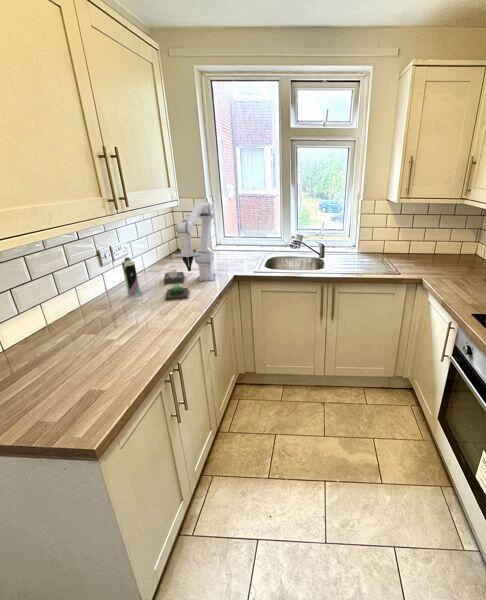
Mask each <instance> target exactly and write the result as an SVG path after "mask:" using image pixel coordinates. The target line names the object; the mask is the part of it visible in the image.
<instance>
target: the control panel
mask: <svg viewBox="0 0 486 600" xmlns="http://www.w3.org/2000/svg"><path fill="white" fill-rule="evenodd" d="M177 276H178V277H176V278H170V277H169V272H165V274H164V277H163V284H164V285H171V284H173V285H174V284H181V283H182V284H183V283H184V279H185V272H184V271H177Z"/></svg>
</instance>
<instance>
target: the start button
mask: <svg viewBox="0 0 486 600" xmlns="http://www.w3.org/2000/svg"><path fill="white" fill-rule="evenodd" d="M180 287H181V285H173V286H172V287H171V288H173V291H177V290H180Z"/></svg>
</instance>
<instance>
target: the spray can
mask: <svg viewBox="0 0 486 600" xmlns="http://www.w3.org/2000/svg"><path fill="white" fill-rule="evenodd" d="M121 266H122V270H123V276H124V280H125V285H126V290H127V295H128V297H129V298H137V297H140V296H141V295H142V294H141V289H140V284H139V279H138V274H137V268H136V264H135V261H134V260H132V259H130V256H129V257H128V256H127V257H124V260H123V261H122V262H121Z"/></svg>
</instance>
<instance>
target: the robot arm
mask: <svg viewBox="0 0 486 600" xmlns="http://www.w3.org/2000/svg"><path fill="white" fill-rule="evenodd" d="M214 216H215V205H214V204H213V202H211V201H210V202H208V201H207V202H204V201H203V202H202V201H201V202H200V201H195V202H194V203H193V209H192V211H191V212H190V213H187V214H186V215H185V216H184V218H183V219H182V220H181V221H178V222H176V223H175V232H176V234H177V237H178V239H179V246H180V253H173V254H172V260H175V259H182V262H183V263H184V265H185V267H186V269H187V272H192V266H193V265H192V264H193V261H194V262H195V263H196V265H197V266H198V271H199V272H198V273H199V276H198V277H199V278H198V280H199V282H205V281H206V282H207V281H214V274H213V269H212V266H213V263H214V261H215V257H214V251H213V250H212V249H211V248H210V242H211V232H212V231H211V230H212V220H213V219H214ZM197 218H199V219H201V230H200V245H199V248H197V249H196V250H195V252H194V250H193V242H192V233H193V229H194V226H195V224H196V223H197V220H198V219H197Z"/></svg>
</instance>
